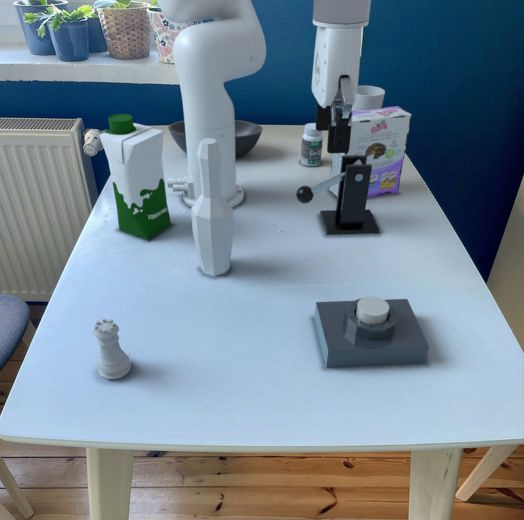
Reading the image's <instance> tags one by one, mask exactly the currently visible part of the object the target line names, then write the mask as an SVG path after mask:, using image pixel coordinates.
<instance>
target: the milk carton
mask: <svg viewBox="0 0 524 520" xmlns="http://www.w3.org/2000/svg"><path fill="white" fill-rule="evenodd" d="M107 119H108V125H109V129H108V130H106V131H104V132H103V133H100V134H99V136H98V137H99V139H100V141H101V144H102V147H103V149H104V150H103V151H104V152H105V155H106V158H107V161H108V167H109V171H110V179H111V183H112V187H113V188H112V189H113V192H114V193H113V194H114V200H115V205H116V213H117V222H118V230H119V231H121V232H124V233H127V234H129V235H132V236H135V237H137V238H140V239H142V240H145V241H150V240H151V239H153V238H154V237H156V236H157V235H159V234H160V233H161V232H163V231H165V230H167V229H168V228H169V227H171V226H172V220H171V215H170V211H169V205H168V201H167V200H168V199H167V191H166V183H165V174H164V166H163V148H164V147H163V146H164V145H163V144H164V133H165V131H164V130H160V129H158V128H153V126H150V125H144V124H140V123H135V122H134V119H133V116H132V115H131V114H128V113H116V114H111V115H110V116H109V117H108V118H107Z"/></svg>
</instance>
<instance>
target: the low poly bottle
mask: <svg viewBox="0 0 524 520" xmlns="http://www.w3.org/2000/svg"><path fill="white" fill-rule="evenodd" d="M197 159H198V165H199V171H200V181H201V195H200V197H199V198H198V200H197V201H196V202H195V204H194V205H193V207H190V213H191V214H190V217H191V227H192V235H193V240H194V244H195V248H196V249H195V250H196V253H197V257H198V261H199V267H200V270H201V271H202V272H203V273H204V274H206V275H209V276H212V277H217V276H219V275H224V274H226V273H227V272H228V270H230V267H231V259H232V253H233V252H232V251H233V244H234V233H235V231H234V230H235V229H234V209H233V207H232V208H231V206H230V205H229V204H228V203H227V201H226V200H225V199H224V198H223V196H222V195H221V182H220V170H221V152H220V149H219V146H218V144H217V141H216V140H215V139H212V138H206V139H202V140H201V141H200V143H199V147H198V152H197Z"/></svg>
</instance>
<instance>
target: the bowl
mask: <svg viewBox="0 0 524 520" xmlns="http://www.w3.org/2000/svg"><path fill="white" fill-rule="evenodd" d="M167 129H168V131H169V134H170V136H171V137H172V140H174V142H175V144H176V145H177V146H178V147H179V149H180V150H181V151H183V152H184V153H185V154H186V155H187V146H186V134H185V122H184V120H181V121H176V122H172V123H171V124H169V125H168V127H167ZM263 130H264V128H263V127H262V126H261V124H258V123H255V122H251V121H247V120H240V119H235V160H238V159H242V158H245V157H246V156H247V155H248V154H249V153H250V152H251V151H253V149H254V148H255V146H256V145H257V143H258V142H259V139H260V138H261V135H262V132H263Z"/></svg>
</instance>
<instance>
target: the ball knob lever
mask: <svg viewBox="0 0 524 520" xmlns="http://www.w3.org/2000/svg"><path fill="white" fill-rule="evenodd" d="M359 164H362V163H361V161H360V159H359V160H357V161H355V162H352V163H350V164H348V165H359ZM345 167H346V166H345ZM345 173H346V171H345V172H343V173H341V174H339V175H337V176H335V177H332V178H328V179H327V180H324V181H322V182H320V183H318V184H316V185H314V186H312V187H310V186H308V185H301V186H300V187H298V189H297V190H296V193H295V197H296V199H297V201H298V202H299V203H300V204H302V205H303V204H304V205H307V204H309V203H310V202H312V201H313V199H314V195H316V194H318V193H320V192H323V191H325V190H326V189H329V187H331V186H333V185H335V184H337V183H339V182H341V181H343V180H345Z"/></svg>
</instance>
